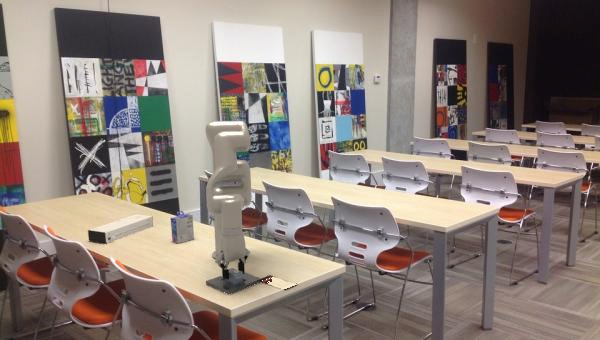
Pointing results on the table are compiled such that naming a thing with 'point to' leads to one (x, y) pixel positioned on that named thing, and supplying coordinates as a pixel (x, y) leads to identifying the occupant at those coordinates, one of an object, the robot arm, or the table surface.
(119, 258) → the table surface
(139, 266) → the table surface
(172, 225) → the ink cartridge box
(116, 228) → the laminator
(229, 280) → the servo
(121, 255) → the table surface
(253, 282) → the frame
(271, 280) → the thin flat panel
